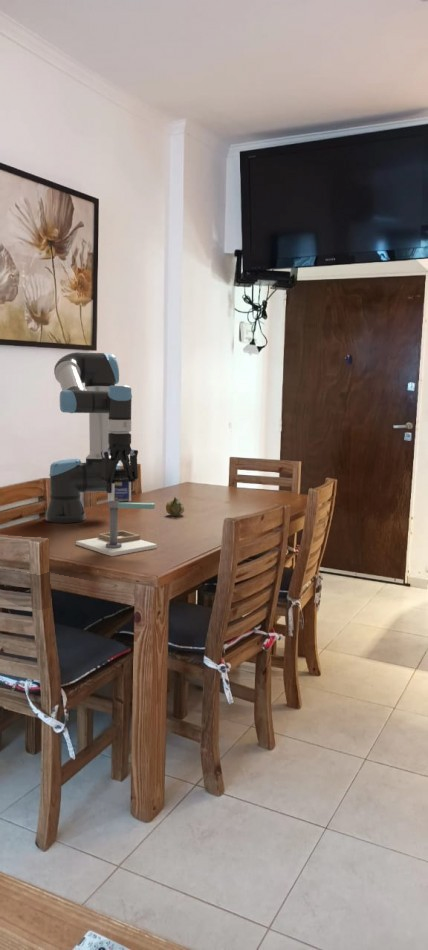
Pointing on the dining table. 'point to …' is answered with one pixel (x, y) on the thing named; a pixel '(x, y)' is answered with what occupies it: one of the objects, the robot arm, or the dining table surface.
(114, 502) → the keeper arm
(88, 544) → the base board
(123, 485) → the pill bottle
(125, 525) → the dining table surface
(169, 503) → the onion
